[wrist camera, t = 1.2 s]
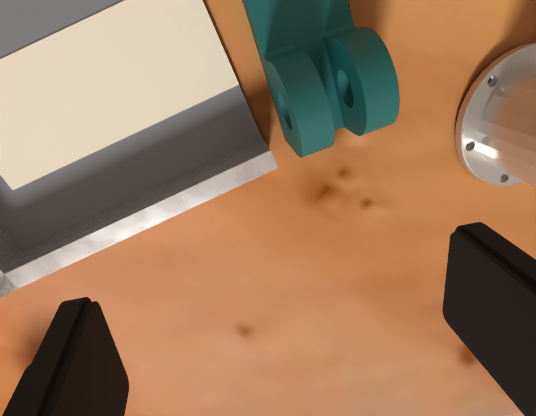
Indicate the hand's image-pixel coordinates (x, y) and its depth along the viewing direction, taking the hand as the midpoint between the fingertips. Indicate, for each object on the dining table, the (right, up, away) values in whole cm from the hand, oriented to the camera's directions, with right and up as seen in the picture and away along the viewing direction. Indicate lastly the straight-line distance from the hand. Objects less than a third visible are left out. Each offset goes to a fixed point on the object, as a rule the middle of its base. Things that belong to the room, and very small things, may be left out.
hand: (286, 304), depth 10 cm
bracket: (+1, +17, +19) cm, 25 cm away
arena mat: (-14, +10, +18) cm, 25 cm away
